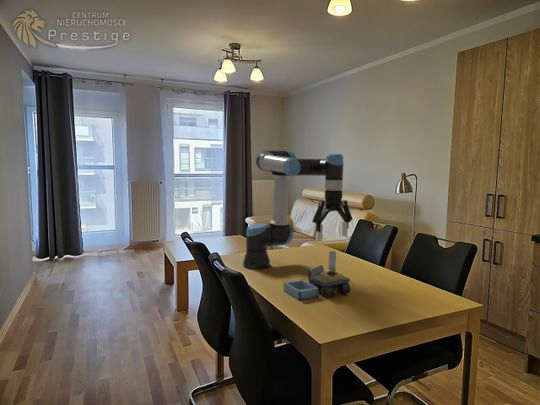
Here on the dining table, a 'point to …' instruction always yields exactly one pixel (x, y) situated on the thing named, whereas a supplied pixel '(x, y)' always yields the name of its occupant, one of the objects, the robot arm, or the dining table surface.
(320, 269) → the electrical switch
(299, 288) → the tray
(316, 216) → the robot arm
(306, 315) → the dining table surface
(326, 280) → the trolley
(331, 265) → the pin
